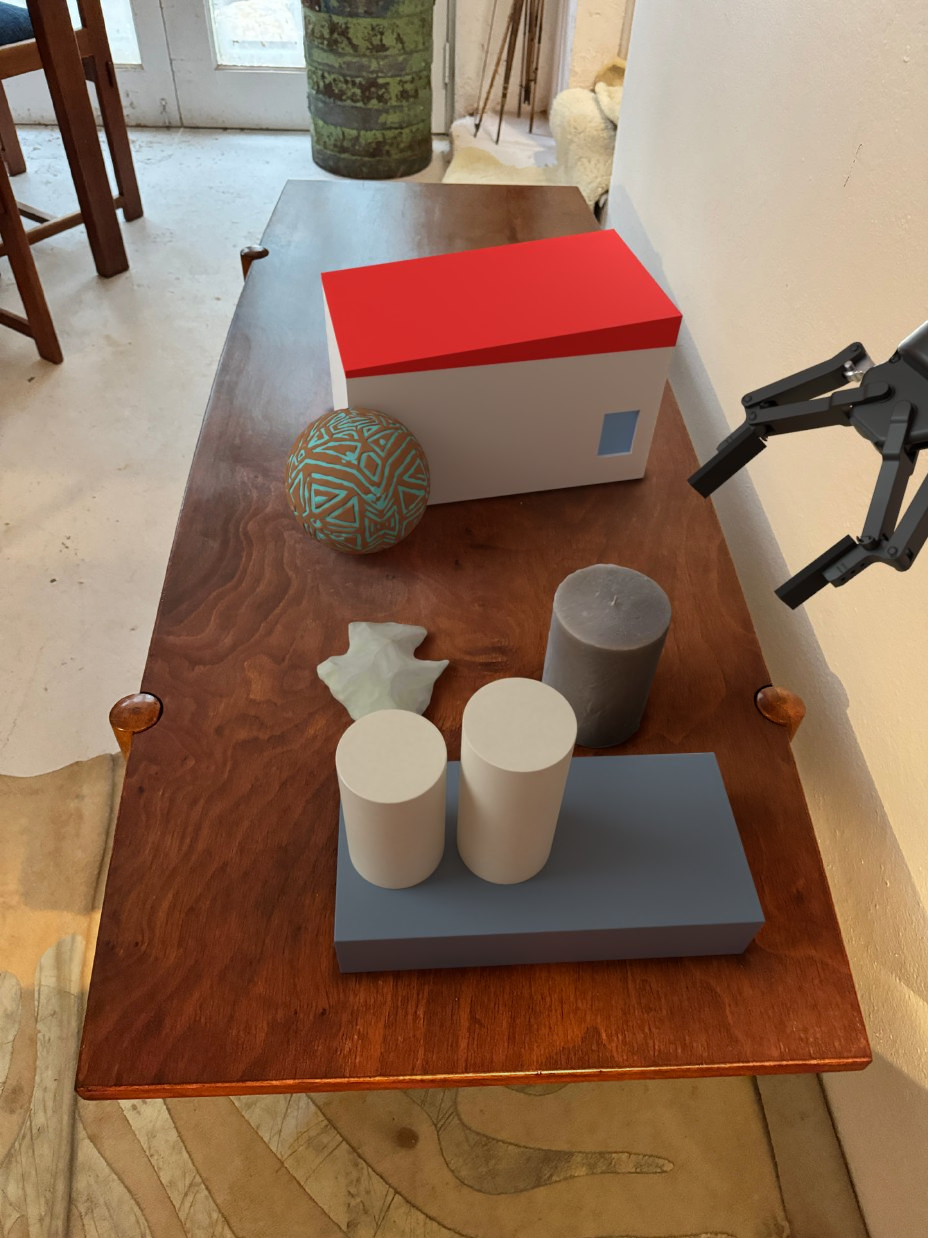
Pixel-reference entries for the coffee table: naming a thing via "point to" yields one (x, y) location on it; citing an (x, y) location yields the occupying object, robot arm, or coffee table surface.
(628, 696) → the pillar candle
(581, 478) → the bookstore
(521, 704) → the tall ivory candle
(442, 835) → the short ivory candle
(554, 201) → the coffee table surface
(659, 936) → the plinth
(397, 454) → the decorative sphere
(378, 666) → the arrowhead
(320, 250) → the coffee table surface
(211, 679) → the coffee table surface
